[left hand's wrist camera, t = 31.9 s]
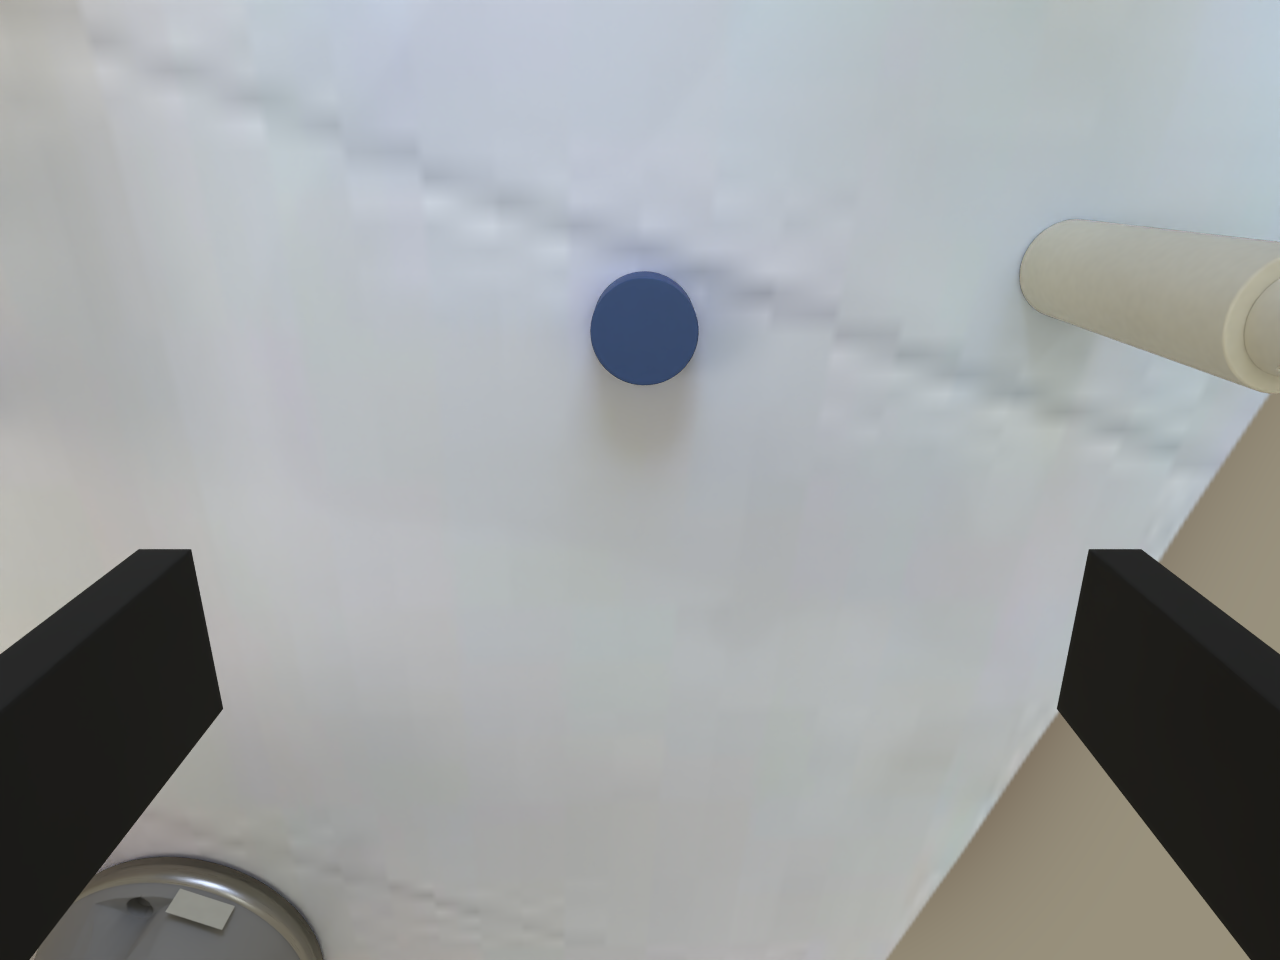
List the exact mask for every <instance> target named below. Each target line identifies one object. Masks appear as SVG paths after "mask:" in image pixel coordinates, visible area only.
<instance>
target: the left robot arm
mask: <svg viewBox="0 0 1280 960" xmlns="http://www.w3.org/2000/svg"><path fill="white" fill-rule="evenodd" d="M222 710H223V706H222V701H221V696H220V691H219V686H218V681H217V676H216V671H215V666H214V661H213V656H212V651H211V646H210V641H209V636H208V631H207V626H206V621H205V616H204V611H203V606H202V601H201V596H200V591H199V586H198V581H197V576H196V571H195V566H194V561H193V556H192V551H191V549H139V550H137V551H136V552H135V553H133V554H132V555H131V556H129V557H128V558H127V559H125V560H124V561H123V562H121V563H120V564H119V565H117V566H116V567H115V568H113V569H112V570H111V571H110V572H108V573H107V574H106V575H104V576H103V577H102V578H100V579H99V580H98V581H96V582H95V583H94V584H92V585H91V586H90V587H88V588H87V589H86V590H84V591H83V592H82V593H81V594H79V595H78V596H77V597H75V598H74V599H73V600H71V601H70V602H69V603H67V604H66V605H65V606H63V607H62V608H61V609H59V610H58V611H57V612H55V613H54V614H53V615H52V616H50V617H49V618H48V619H46V620H45V621H44V622H42V623H41V624H40V625H38V626H37V627H36V628H34V629H33V630H32V631H30V632H29V633H28V634H26V635H25V636H24V637H23V638H21V639H20V640H19V641H17V642H16V643H15V644H13V645H12V646H11V647H9V648H8V649H7V650H5V651H4V652H3V653H1V654H0V960H29V959H30V958H31V957H32V956H33V954H34V953H35V952H36V950H37V949H38V951H37V954H36V956H35V959H34V960H323V958H322V953H321V950H320V947H319V944H318V942H317V940H316V937H315V935H314V933H313V932H312V930H311V928H310V927H309V925H308V924H307V922H306V921H305V920H304V918H303V917H302V916H301V915H300V913H299V912H298V911H297V910H296V909H295V908H294V907H293V906H292V905H291V904H290V903H289V902H288V901H287V900H286V899H284V898H283V897H282V896H281V895H279V894H278V893H277V892H275V891H274V890H272V889H271V888H269V887H268V886H266V885H265V884H263V883H261V882H260V881H258V880H256V879H254V878H252V877H250V876H248V875H246V874H244V873H242V872H239V871H237V870H234V869H231V868H229V867H226V866H222V865H219V864H216V863H212V862H207V861H203V860H197V859H190V858H180V857H154V858H144V859H138V860H132V861H129V862H125V863H121V864H118V865H115V866H113V867H110V868H108V869H106V870H104V871H101V872H99V873H98V874H96V873H97V871H98V870H99V869H100V868H101V866H102V865H103V864H104V862H105V861H106V860H107V858H108V857H109V856H110V855H111V853H112V852H113V851H114V849H115V848H116V847H117V846H118V844H119V843H120V842H121V840H122V839H123V838H124V836H125V835H126V834H127V833H128V831H129V830H130V829H131V827H132V826H133V825H134V824H135V822H136V821H137V820H138V818H139V817H140V816H141V814H142V813H143V812H144V811H145V809H146V808H147V807H148V805H149V804H150V803H151V802H152V800H153V799H154V798H155V796H156V795H157V794H158V792H159V791H160V790H161V789H162V787H163V786H164V785H165V783H166V782H167V781H168V779H169V778H170V777H171V776H172V774H173V773H174V772H175V770H176V769H177V768H178V767H179V765H180V764H181V763H182V761H183V760H184V759H185V757H186V756H187V755H188V754H189V752H190V751H191V750H192V748H193V747H194V746H195V745H196V743H197V742H198V741H199V739H200V738H201V737H202V735H203V734H204V733H205V732H206V730H207V729H208V728H209V726H210V725H211V724H212V723H213V721H214V720H215V719H216V717H217V716H218V715H219V713H220V712H221V711H222ZM1057 710H1058V711H1059V712H1060V713H1061V715H1062V716H1063V717H1064V719H1065V720H1066V721H1067V723H1068V724H1069V725H1070V726H1071V728H1072V729H1073V730H1074V732H1075V733H1076V734H1077V735H1078V737H1079V738H1080V739H1081V741H1082V742H1083V743H1084V745H1085V746H1086V747H1087V748H1088V750H1089V751H1090V752H1091V753H1092V755H1093V756H1094V757H1095V759H1096V760H1097V761H1098V763H1099V764H1100V765H1101V766H1102V768H1103V769H1104V770H1105V772H1106V773H1107V774H1108V776H1109V777H1110V778H1111V779H1112V781H1113V782H1114V783H1115V785H1116V786H1117V787H1118V788H1119V790H1120V791H1121V792H1122V794H1123V795H1124V796H1125V798H1126V799H1127V800H1128V802H1129V803H1130V804H1131V805H1132V807H1133V808H1134V809H1135V811H1136V812H1137V813H1138V814H1139V816H1140V817H1141V818H1142V820H1143V821H1144V822H1145V824H1146V825H1147V826H1148V827H1149V829H1150V830H1151V831H1152V833H1153V834H1154V835H1155V836H1156V838H1157V839H1158V840H1159V842H1160V843H1161V844H1162V845H1163V847H1164V848H1165V849H1166V851H1167V852H1168V853H1169V855H1170V856H1171V857H1172V858H1173V860H1174V861H1175V862H1176V864H1177V865H1178V866H1179V868H1180V869H1181V870H1182V871H1183V873H1184V874H1185V875H1186V877H1187V878H1188V879H1189V880H1190V882H1191V883H1192V884H1193V886H1194V887H1195V888H1196V889H1197V891H1198V892H1199V893H1200V895H1201V896H1202V897H1203V899H1204V900H1205V901H1206V902H1207V904H1208V905H1209V906H1210V908H1211V909H1212V910H1213V912H1214V913H1215V914H1216V915H1217V917H1218V918H1219V919H1220V921H1221V922H1222V923H1223V924H1224V926H1225V927H1226V928H1227V930H1228V931H1229V932H1230V934H1231V935H1232V936H1233V937H1234V939H1235V940H1236V941H1237V943H1238V944H1239V945H1240V946H1241V948H1242V949H1243V950H1244V952H1245V953H1246V954H1247V956H1248V957H1249V958H1250V959H1251V960H1280V654H1279V653H1277V652H1276V651H1275V650H1273V649H1272V648H1271V647H1269V646H1268V645H1267V644H1265V643H1264V642H1263V641H1261V640H1260V639H1259V638H1257V637H1256V636H1255V635H1254V634H1252V633H1251V632H1250V631H1248V630H1247V629H1246V628H1244V627H1243V626H1242V625H1240V624H1239V623H1238V622H1236V621H1235V620H1234V619H1232V618H1231V617H1230V616H1228V615H1227V614H1226V613H1225V612H1223V611H1222V610H1221V609H1219V608H1218V607H1217V606H1215V605H1214V604H1213V603H1211V602H1210V601H1209V600H1207V599H1206V598H1205V597H1203V596H1202V595H1201V594H1199V593H1198V592H1197V591H1196V590H1194V589H1193V588H1192V587H1190V586H1189V585H1188V584H1186V583H1185V582H1184V581H1182V580H1181V579H1180V578H1178V577H1177V576H1176V575H1174V574H1173V573H1172V572H1170V571H1169V570H1168V569H1167V568H1165V567H1164V566H1163V565H1161V564H1160V563H1159V562H1157V561H1156V560H1155V559H1153V558H1152V557H1151V556H1149V555H1148V554H1147V553H1145V552H1144V551H1143V550H1141V549H1089V551H1088V556H1087V561H1086V566H1085V571H1084V576H1083V581H1082V586H1081V591H1080V596H1079V601H1078V606H1077V611H1076V616H1075V621H1074V626H1073V631H1072V636H1071V641H1070V646H1069V651H1068V656H1067V661H1066V666H1065V671H1064V676H1063V681H1062V686H1061V691H1060V696H1059V701H1058V706H1057ZM95 874H96V875H95ZM94 875H95V876H94Z"/></svg>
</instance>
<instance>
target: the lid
mask: <svg viewBox="0 0 1280 960" xmlns="http://www.w3.org/2000/svg"><path fill="white" fill-rule="evenodd" d="M591 341H592V346H593V349H594V352H595V354H596V356H597V358H598V359H599V361H600V363H601V364H602V365H603V366H604V367H605V369H606V370H608V371H609V372H610V373H611V374H612V375H614V376H615V377H617V378H619V379H620V380H622V381H625V382H628V383H631V384H636V385H652V384H658V383H661V382H664V381H666V380H668V379H670V378H672V377H674V376H675V375H677V374H678V373H679V372H680V371H681V370H682V369H683V368H684V367H685V366H686V365H687V364H688V362H689V361H690V359H691V357H692V356H693V354H694V351H695V349H696V345H697V341H698V321H697V317H696V314H695V311H694V308H693V306H692V303H691V301H690V299H689V297H688V296H687V294H686V293H685V291H684V290H683V289H682V288H681V287H680V286H679V285H678V284H677V283H676V282H674V281H673V280H672V279H670V278H668V277H666V276H664V275H661V274H658V273H654V272H635V273H631V274H627V275H625V276H623V277H620V278H619V279H617V280H616V281H614V282H613V283H612V284H610V285H609V286H608V287H607V288H606V290H605V291H604V292H603V293H602V295H601V296H600V298H599V300H598V302H597V305H596V308H595V311H594V314H593V317H592V322H591Z"/></svg>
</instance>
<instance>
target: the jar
mask: <svg viewBox="0 0 1280 960" xmlns="http://www.w3.org/2000/svg"><path fill="white" fill-rule="evenodd" d="M1020 285H1021V289H1022V292H1023V295H1024V297H1025V298H1026V300H1027V301H1028V303H1029V304H1030V305H1031V306H1032V307H1033V308H1034V309H1036V310H1037V311H1038V312H1040V313H1042V314H1045V315H1047V316H1050V317H1053V318H1056V319H1058V320H1061V321H1064V322H1067V323H1070V324H1072V325H1075V326H1078V327H1081V328H1084V329H1086V330H1089V331H1092V332H1095V333H1097V334H1100V335H1103V336H1106V337H1109V338H1111V339H1114V340H1117V341H1120V342H1123V343H1125V344H1128V345H1131V346H1134V347H1136V348H1139V349H1142V350H1145V351H1148V352H1150V353H1153V354H1156V355H1159V356H1162V357H1164V358H1167V359H1170V360H1173V361H1175V362H1178V363H1181V364H1184V365H1187V366H1189V367H1192V368H1195V369H1198V370H1200V371H1203V372H1206V373H1209V374H1212V375H1214V376H1217V377H1220V378H1223V379H1226V380H1228V381H1231V382H1234V383H1237V384H1239V385H1242V386H1245V387H1248V388H1251V389H1253V390H1256V391H1260V392H1264V393H1270V394H1280V242H1276V241H1267V240H1258V239H1249V238H1241V237H1232V236H1223V235H1214V234H1205V233H1197V232H1188V231H1179V230H1170V229H1161V228H1153V227H1144V226H1135V225H1126V224H1117V223H1109V222H1100V221H1091V220H1082V219H1072V220H1066V221H1062V222H1059V223H1056V224H1054V225H1052V226H1050V227H1049V228H1047V229H1046V230H1044V231H1043V232H1042V233H1040V234H1039V235H1038V236H1037V237H1036V238H1035V239H1034V241H1033V242H1032V243H1031V244H1030V246H1029V247H1028V249H1027V251H1026V253H1025V255H1024V257H1023V260H1022V263H1021V268H1020Z"/></svg>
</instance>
